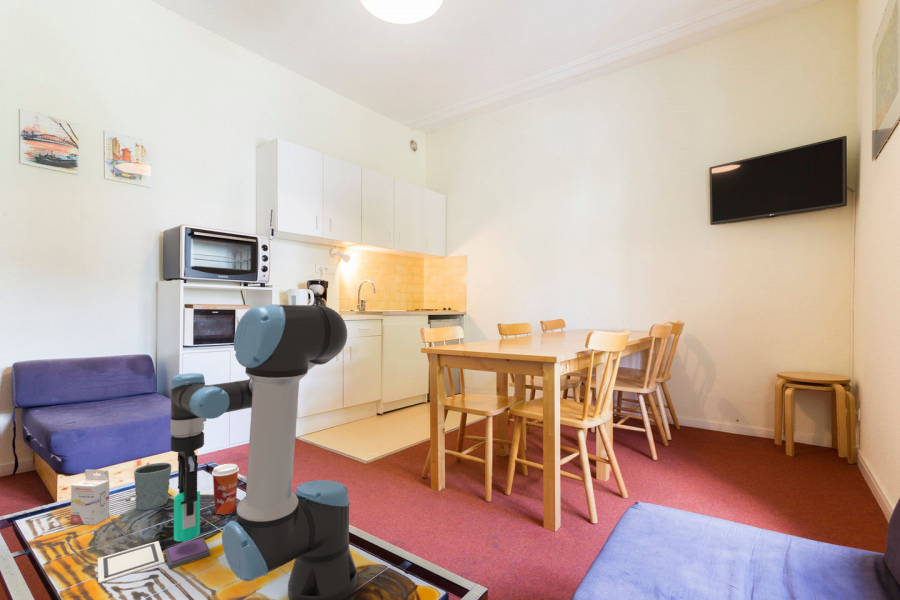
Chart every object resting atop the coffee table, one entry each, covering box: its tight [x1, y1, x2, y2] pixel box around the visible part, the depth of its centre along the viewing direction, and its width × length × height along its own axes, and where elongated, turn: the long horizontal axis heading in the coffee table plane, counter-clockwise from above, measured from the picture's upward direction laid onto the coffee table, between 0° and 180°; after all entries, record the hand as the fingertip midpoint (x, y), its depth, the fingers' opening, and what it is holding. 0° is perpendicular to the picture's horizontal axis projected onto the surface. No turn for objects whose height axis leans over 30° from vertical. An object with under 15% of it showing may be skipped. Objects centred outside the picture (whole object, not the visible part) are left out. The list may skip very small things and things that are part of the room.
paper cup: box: [211, 463, 240, 515], centre depth 137 cm, size 8×8×14 cm
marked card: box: [97, 540, 166, 584], centre depth 110 cm, size 13×13×1 cm
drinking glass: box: [133, 462, 172, 511], centre depth 143 cm, size 10×10×12 cm
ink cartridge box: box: [70, 469, 110, 526], centre depth 132 cm, size 9×5×15 cm, turn 84°
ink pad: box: [164, 537, 211, 570], centre depth 113 cm, size 9×9×1 cm
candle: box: [173, 490, 201, 542], centre depth 113 cm, size 6×6×12 cm
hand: (187, 522), depth 113 cm, fingers closed on candle, 5 cm apart
